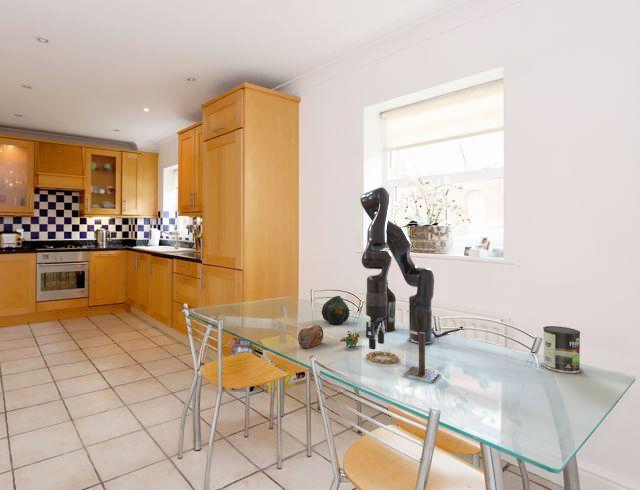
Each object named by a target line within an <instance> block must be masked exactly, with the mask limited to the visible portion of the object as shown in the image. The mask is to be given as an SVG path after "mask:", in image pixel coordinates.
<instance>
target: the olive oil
mask: <svg viewBox="0 0 640 490" xmlns="http://www.w3.org/2000/svg"><path fill="white" fill-rule="evenodd" d="M395 295H396V294H395V292H393V291H392V290H391V289H390V288H389V282H388V279H387V331H386V332H393V331H395V328H396V306H397V305H396V302H397V300H396V299H397V298H396V296H395Z"/></svg>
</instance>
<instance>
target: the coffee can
mask: <svg viewBox="0 0 640 490" xmlns="http://www.w3.org/2000/svg"><path fill="white" fill-rule="evenodd" d="M542 330H543V367H544V368H546V369H548V370H551V371H554V372H558V373H565V374H578V373H580V372H581V370H580V367H581V366H580V361H581V360H580V357H581V351H580V350H581V349H580V348H581V345H580V344H581V331H580V330H578V329H576V328H571V327H566V326H558V325H557V326H556V325H546V326H543V329H542Z"/></svg>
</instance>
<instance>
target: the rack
mask: <svg viewBox="0 0 640 490" xmlns="http://www.w3.org/2000/svg"><path fill="white" fill-rule="evenodd" d="M404 375H408V376H412V377H417V378H421V379H426V380H429V381H430V380H431V384H433V383H434V382H435V381H436V380H437V379H438V377H439V376H440V371H436V370H432V369H427V368H426V344H425V333H424V332H419V344H418V367H417V366H411V367H410V368H409V369H408V370H407V371H405V372H404Z"/></svg>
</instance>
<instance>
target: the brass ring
mask: <svg viewBox="0 0 640 490" xmlns="http://www.w3.org/2000/svg"><path fill="white" fill-rule="evenodd" d="M378 356H379V357H380V356H381V357H387V358H389V359H386V358H385V359H383V358H377V357H378ZM365 358H366V360H367V361H369V362H371V363H375V364H379V365H393V364H397V363H399V362H400V358H399V357H398V356H397V354H395V353H392V352H388V351H377V350H376V351H369V353H367V354H366V355H365Z"/></svg>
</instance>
